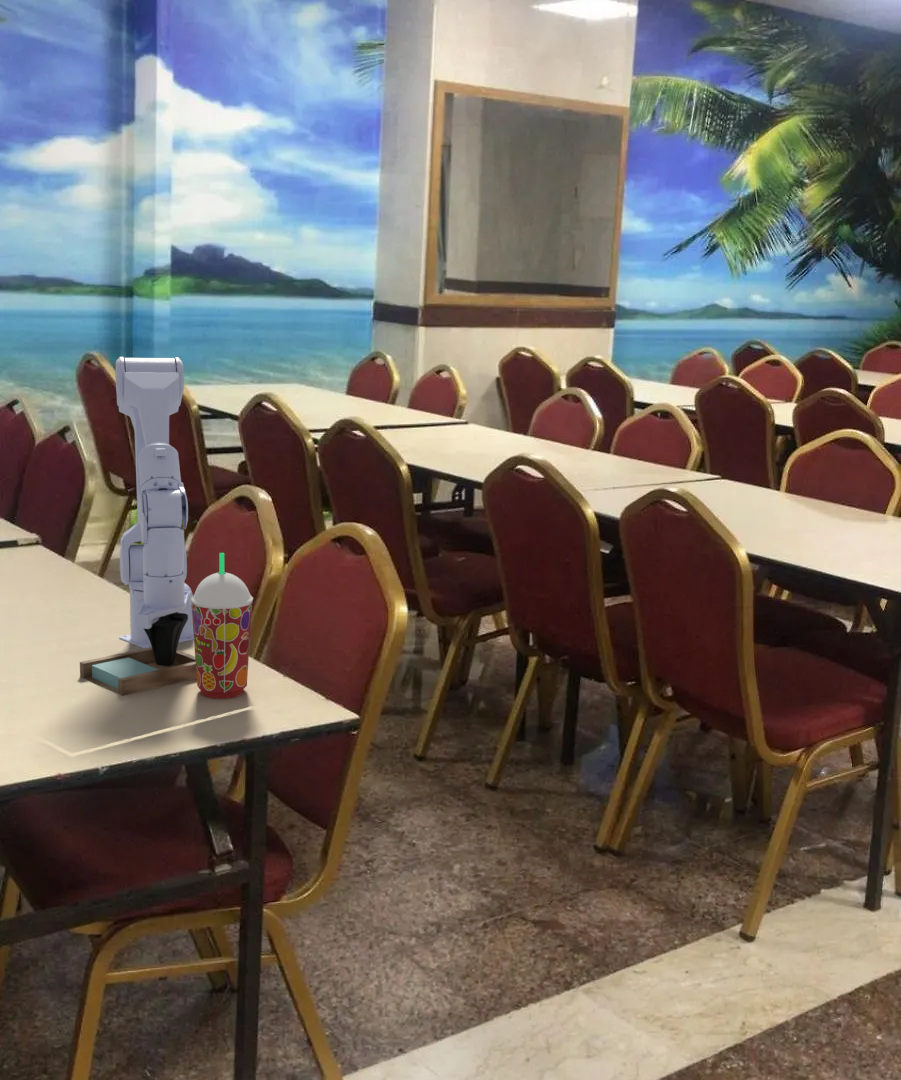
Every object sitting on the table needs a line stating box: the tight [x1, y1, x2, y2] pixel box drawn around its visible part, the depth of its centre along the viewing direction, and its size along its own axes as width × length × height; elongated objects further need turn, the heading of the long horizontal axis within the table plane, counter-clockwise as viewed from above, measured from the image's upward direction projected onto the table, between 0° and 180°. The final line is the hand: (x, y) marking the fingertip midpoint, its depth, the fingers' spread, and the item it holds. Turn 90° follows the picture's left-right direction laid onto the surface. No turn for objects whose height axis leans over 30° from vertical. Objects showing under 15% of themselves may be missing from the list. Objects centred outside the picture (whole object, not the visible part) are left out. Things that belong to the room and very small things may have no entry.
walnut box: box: [79, 647, 197, 696], centre depth 189 cm, size 14×11×2 cm
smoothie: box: [191, 552, 254, 700], centre depth 182 cm, size 8×8×20 cm
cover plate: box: [92, 657, 158, 689], centre depth 187 cm, size 6×8×2 cm
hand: (165, 664), depth 192 cm, fingers closed
